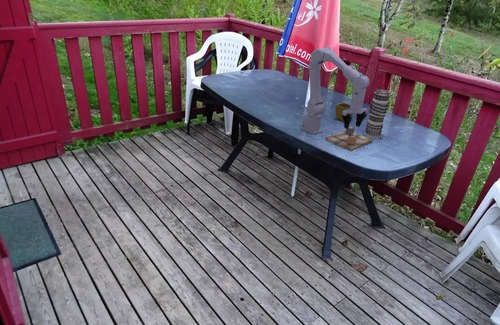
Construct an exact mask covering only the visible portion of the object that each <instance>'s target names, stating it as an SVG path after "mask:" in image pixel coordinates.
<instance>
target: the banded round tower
mask: <svg viewBox="0 0 500 325" xmlns="http://www.w3.org/2000/svg"><path fill="white" fill-rule="evenodd" d="M373 92H374V95H373V98H372V100H371V102H370V106H369V107H370V108H369V113H368V114H369V117H368V120H367V121H366V127H365V129H364V136H365V137H367V138H371V139H372V138H373V139H379V138H381V135H382V132H383V127H384V122H385V121H384V119H385V117H386V114H387V111H388V107H389V104H390V101H389V100H390V99H389V98H390V96H391V94H390V93H389V92H390V91H388V89H387V90H386V89H383V88H382V89H376V91H373Z"/></svg>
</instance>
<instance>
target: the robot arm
mask: <svg viewBox="0 0 500 325" xmlns="http://www.w3.org/2000/svg"><path fill="white" fill-rule="evenodd" d="M310 57H311V58H310V60H309V64H308V68H309V69H308V72H309V73H308V74H309V92H310V93H309V99H308V100H307V103H306V104H307V106H306V107H305V108H306V109H305V112H306V113H304V115H303V116H302V122H301V127H300V130H303V131H304V132H308V133H310V134H311V135H315V134H317V133H321V132H322V133H323V129H321V128H320V127H321V122H322V116H323V113H324V112H325V111H326V105H325V103H324V102H325V101H324V99H323V98H322V97H321V96H322V92H321V89H322V88H321V66H322V65H323V64H325V63H327V62H329V63H331V64H333V65H334V66H335V67H336V68H338V69H339V70H340V71H342V76H343V77H344V78H345V79H347V80H348V81H349V82H351V84H352V87H353V90H352V96H351V100H350V101H351V102H350V108H349V109H347V110H344V111H343V113H342V117H343V120H344V121H343V127H344V129H345V130H346V129H348V128H349V126H350V123H351V121H352V119H353V116H352V117H351V116H350V114H353V115H356V119H355V127H358V128H360V127H361V125H362V123H363V121H364V120H365V119H366V117H368V114H367V113H368V110H369V108H366V107H363V105H364V100H365V96H366V91H367V88H368V87H369V85H370V83H371V81H370V78H369V76H367V75H366V74H363V73H362V72H359V71H358V70H357V69H356V66H354V65H347V64H346V62H344V60H343V59H341V58H340V57H339V56H338V54H336V52H335V50H334V49H332V48H331V47H329V46H326V47H321V48H315V49H314V50H313V51H312V52H311V53H310Z"/></svg>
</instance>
